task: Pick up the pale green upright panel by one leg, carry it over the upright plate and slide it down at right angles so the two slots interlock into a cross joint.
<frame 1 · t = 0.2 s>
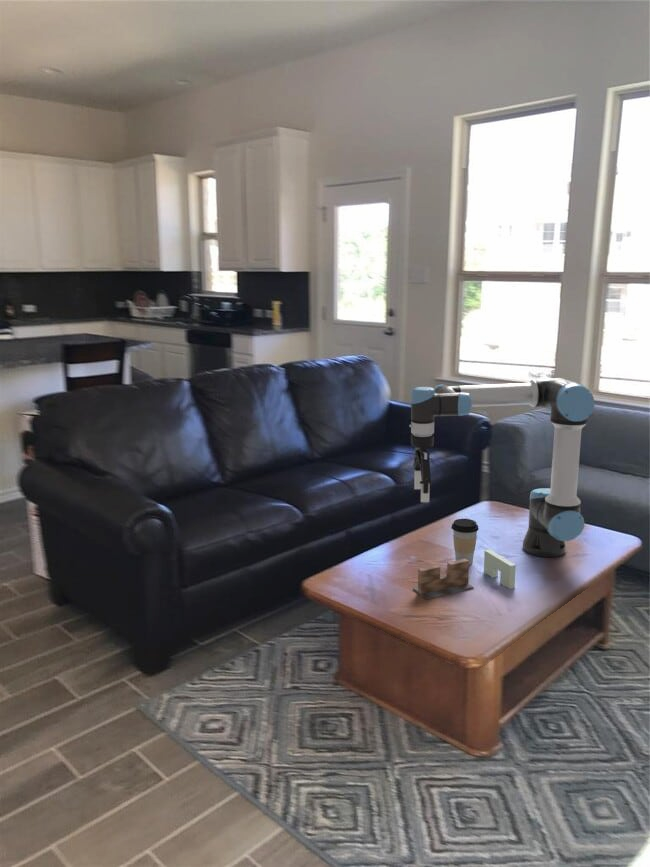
hand: (421, 495, 234), 28 cm above the table, fingers open, 13 cm apart
upright plate: (443, 589, 227), on the table
pale green upright panel: (498, 579, 233), on the table
coffee cup: (463, 562, 247), on the table
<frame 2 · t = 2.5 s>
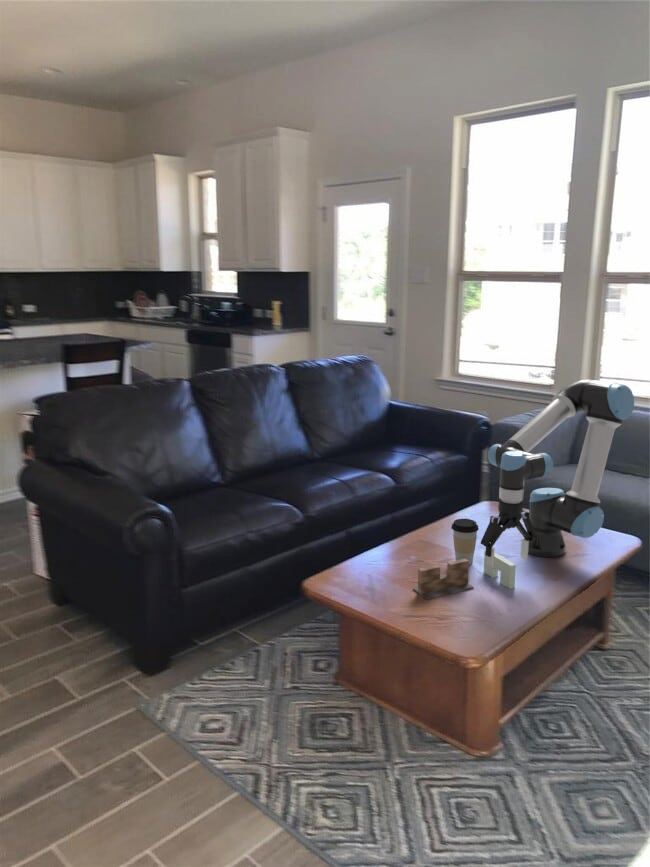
hand: (507, 561, 226), 8 cm above the table, fingers open, 13 cm apart
nothing on the table moved.
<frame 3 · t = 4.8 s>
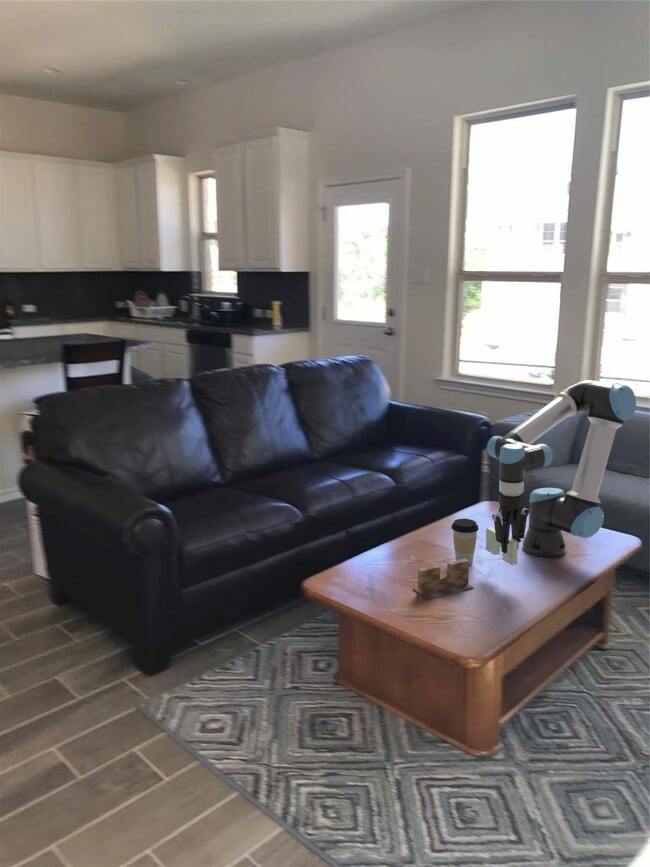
hand: (509, 560, 227), 9 cm above the table, fingers closed on pale green upright panel, 2 cm apart
pale green upright panel: (501, 556, 231), point 8 cm above the table, touching gripper
everything else where it was.
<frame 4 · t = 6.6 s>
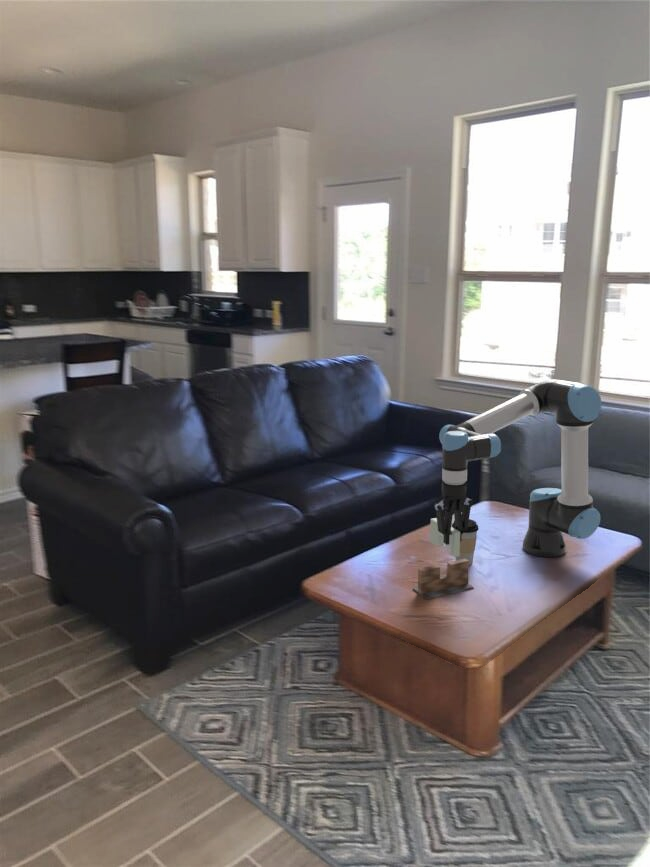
hand: (452, 552, 219), 15 cm above the table, fingers closed on pale green upright panel, 2 cm apart
pale green upright panel: (444, 548, 223), point 14 cm above the table, touching gripper
everything else where it was.
when the fingers open (1 cm above the table, at t = 8.8 s): pale green upright panel stays where it is, resting on upright plate.
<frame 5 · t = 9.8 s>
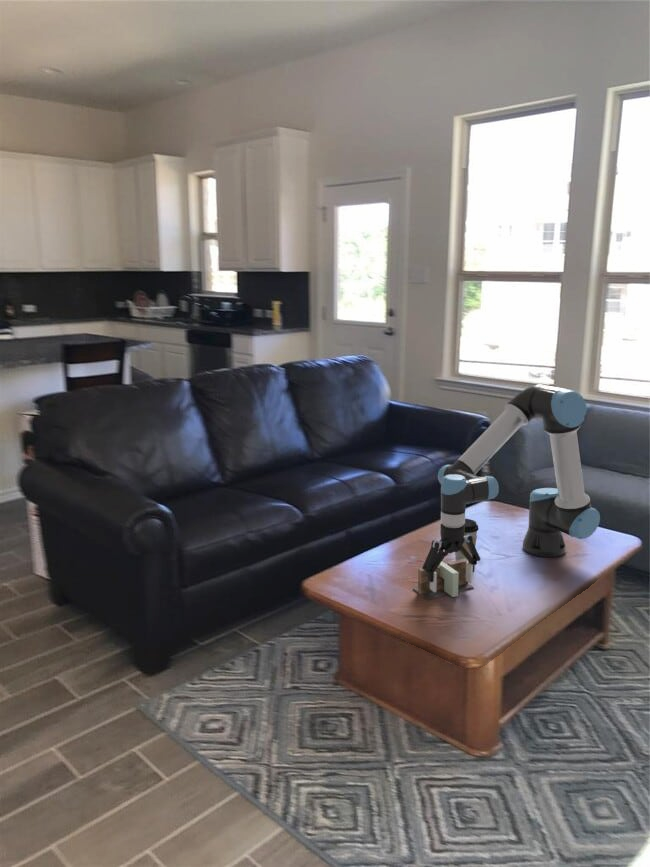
hand: (451, 586, 222), 3 cm above the table, fingers open, 13 cm apart
pale green upright panel: (443, 587, 227), point 1 cm above the table, touching upright plate
everything else where it was.
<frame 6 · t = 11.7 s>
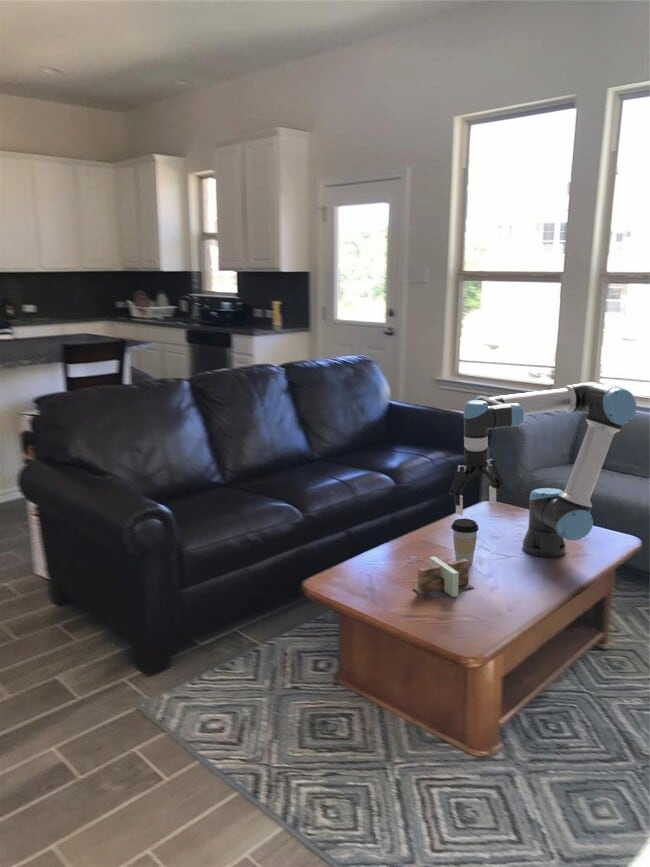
hand: (476, 509, 230), 24 cm above the table, fingers open, 13 cm apart
nothing on the table moved.
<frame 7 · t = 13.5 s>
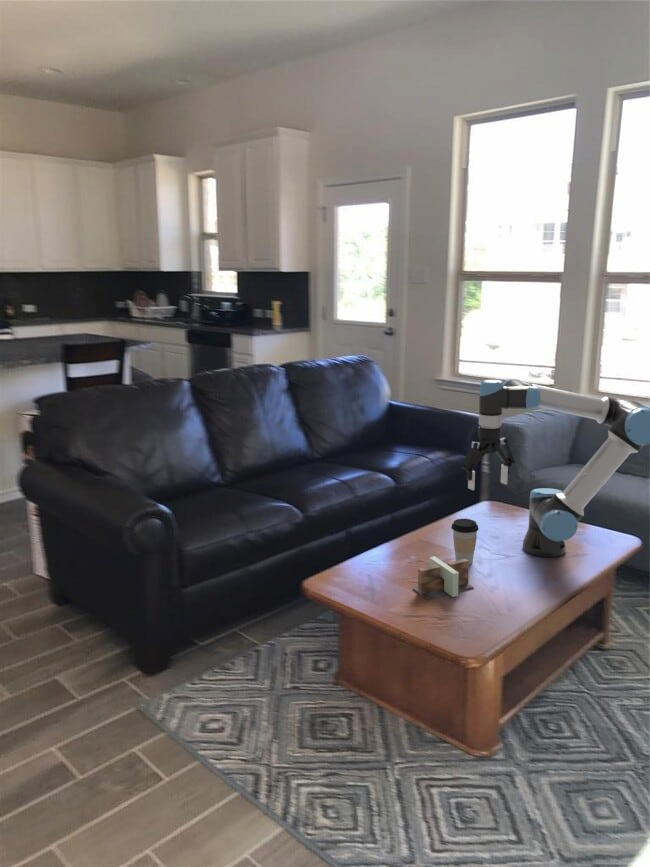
hand: (487, 486, 238), 29 cm above the table, fingers open, 13 cm apart
nothing on the table moved.
at the end: pale green upright panel 0.1 cm off-centre on the upright plate, point 0.6 cm above the upright plate's base; pale green upright panel tilted 0°; the gripper is holding nothing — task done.
